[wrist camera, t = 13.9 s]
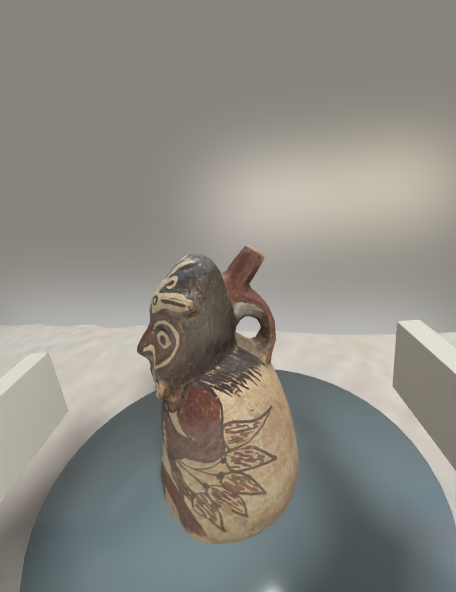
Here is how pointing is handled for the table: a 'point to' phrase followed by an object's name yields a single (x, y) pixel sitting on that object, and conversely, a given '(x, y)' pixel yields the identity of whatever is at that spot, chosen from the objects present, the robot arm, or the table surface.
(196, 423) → the figurine
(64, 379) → the table surface
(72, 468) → the plate
